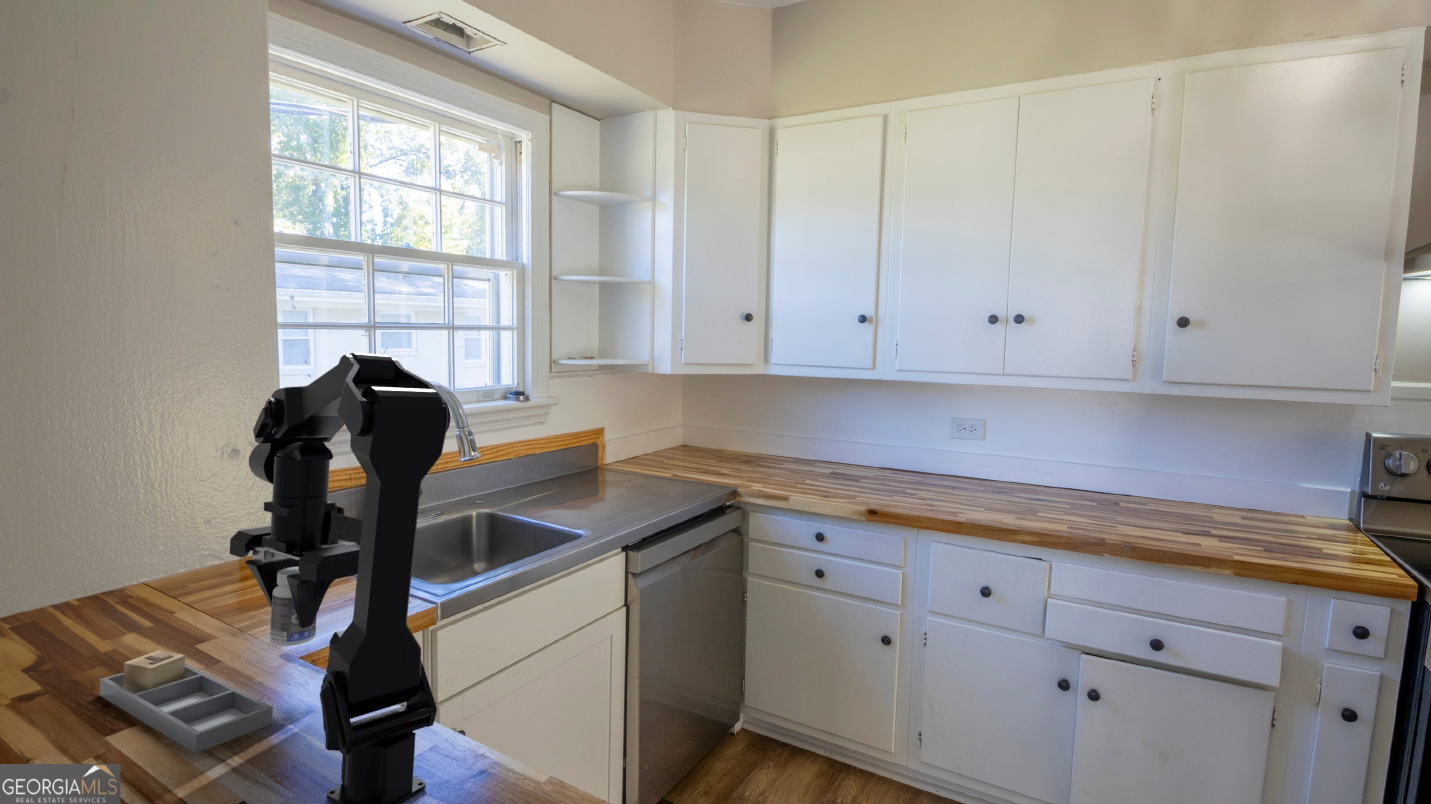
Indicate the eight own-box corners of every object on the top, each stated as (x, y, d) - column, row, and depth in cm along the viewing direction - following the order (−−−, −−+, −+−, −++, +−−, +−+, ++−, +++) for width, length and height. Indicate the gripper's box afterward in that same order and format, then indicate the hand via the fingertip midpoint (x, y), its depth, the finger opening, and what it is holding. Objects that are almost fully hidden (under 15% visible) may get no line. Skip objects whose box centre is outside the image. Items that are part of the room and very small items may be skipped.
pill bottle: (294, 649, 80) (297, 578, 80) (259, 643, 81) (263, 573, 81) (324, 635, 85) (328, 567, 84) (292, 630, 86) (295, 563, 85)
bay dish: (271, 731, 77) (272, 706, 76) (194, 762, 70) (196, 735, 70) (174, 680, 87) (175, 658, 87) (99, 702, 80) (100, 679, 80)
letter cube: (183, 688, 83) (185, 654, 83) (149, 702, 79) (151, 667, 79) (157, 682, 84) (159, 649, 84) (122, 696, 80) (124, 661, 80)
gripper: (410, 497, 85) (403, 621, 85) (319, 478, 94) (313, 591, 94) (322, 508, 75) (315, 649, 76) (230, 486, 84) (224, 612, 84)
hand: (293, 622), depth 83 cm, fingers closed on pill bottle, 5 cm apart
